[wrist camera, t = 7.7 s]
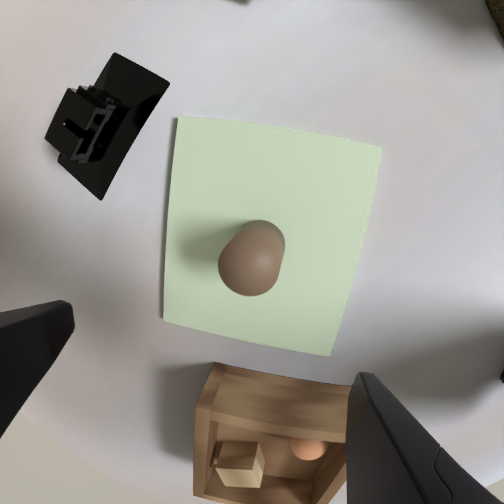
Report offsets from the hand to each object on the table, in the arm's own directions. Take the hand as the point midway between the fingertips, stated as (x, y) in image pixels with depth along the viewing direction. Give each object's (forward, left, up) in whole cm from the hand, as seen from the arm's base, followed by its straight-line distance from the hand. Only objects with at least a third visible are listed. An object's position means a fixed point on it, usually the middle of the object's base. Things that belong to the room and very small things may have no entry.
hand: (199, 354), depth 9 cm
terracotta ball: (-7, +15, -11) cm, 19 cm away
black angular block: (+12, -6, -13) cm, 18 cm away
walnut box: (-4, +17, -12) cm, 21 cm away
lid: (0, 0, -12) cm, 12 cm away
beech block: (-2, +20, -11) cm, 22 cm away
